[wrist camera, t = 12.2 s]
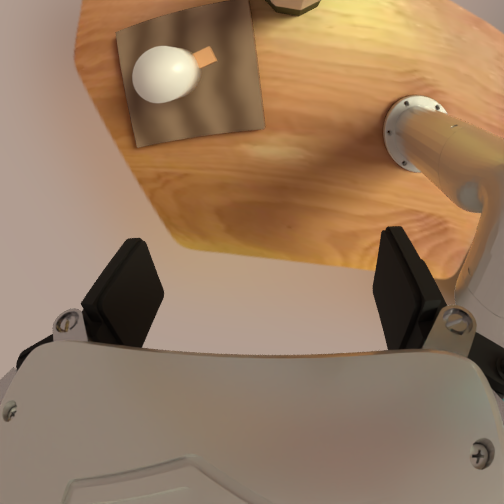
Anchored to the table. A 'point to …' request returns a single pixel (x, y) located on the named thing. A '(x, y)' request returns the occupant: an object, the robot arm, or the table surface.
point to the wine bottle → (293, 6)
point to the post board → (212, 76)
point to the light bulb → (169, 72)
